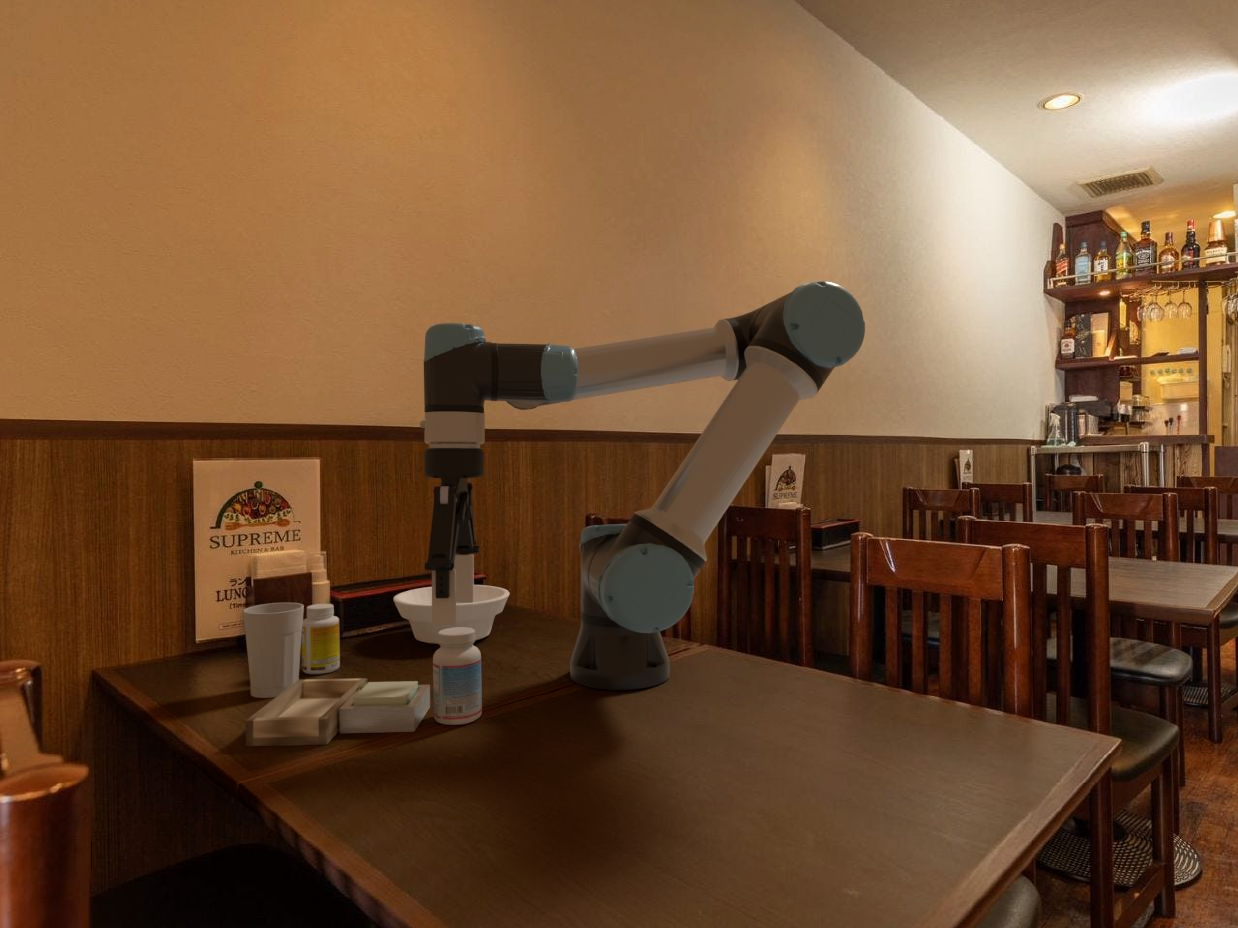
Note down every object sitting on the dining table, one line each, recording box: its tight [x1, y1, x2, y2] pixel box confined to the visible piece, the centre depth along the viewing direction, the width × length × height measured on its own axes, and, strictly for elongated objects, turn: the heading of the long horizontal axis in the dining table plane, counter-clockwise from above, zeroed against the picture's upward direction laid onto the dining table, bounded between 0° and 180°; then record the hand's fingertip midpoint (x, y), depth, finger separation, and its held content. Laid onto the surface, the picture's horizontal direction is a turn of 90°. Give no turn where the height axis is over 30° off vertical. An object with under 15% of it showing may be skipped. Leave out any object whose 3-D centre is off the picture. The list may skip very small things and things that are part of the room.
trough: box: [244, 677, 368, 747], centre depth 95 cm, size 9×16×3 cm, turn 2°
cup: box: [242, 602, 305, 699], centre depth 108 cm, size 8×8×12 cm
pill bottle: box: [432, 627, 483, 726], centre depth 96 cm, size 6×6×11 cm
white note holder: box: [339, 682, 431, 734], centre depth 96 cm, size 9×9×3 cm
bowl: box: [392, 584, 511, 645], centre depth 139 cm, size 21×21×8 cm
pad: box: [354, 680, 419, 706], centre depth 96 cm, size 6×6×1 cm
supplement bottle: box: [301, 603, 341, 675], centre depth 118 cm, size 6×6×10 cm
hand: (454, 612), depth 96 cm, fingers open, 13 cm apart
